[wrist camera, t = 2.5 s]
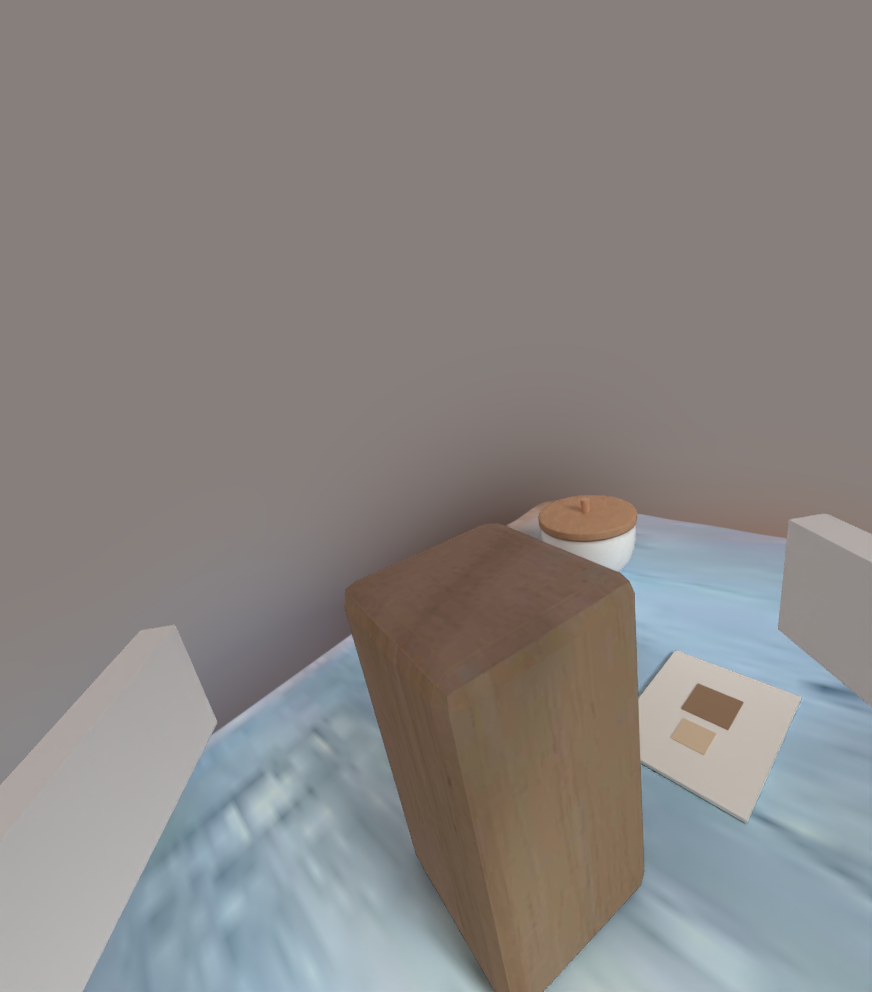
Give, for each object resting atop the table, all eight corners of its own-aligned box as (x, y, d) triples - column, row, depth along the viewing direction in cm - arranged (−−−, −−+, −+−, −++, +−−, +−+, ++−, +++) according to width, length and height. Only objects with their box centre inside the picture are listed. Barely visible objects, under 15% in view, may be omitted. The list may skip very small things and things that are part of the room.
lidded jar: (660, 575, 53) (659, 498, 50) (580, 608, 50) (574, 529, 47) (597, 541, 62) (593, 475, 59) (527, 567, 59) (519, 499, 56)
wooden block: (411, 852, 30) (332, 582, 23) (528, 761, 34) (492, 512, 27) (515, 1035, 21) (440, 699, 15) (652, 884, 26) (644, 571, 19)
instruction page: (675, 652, 41) (675, 649, 41) (801, 700, 35) (801, 696, 35) (606, 743, 34) (605, 739, 34) (746, 824, 28) (747, 819, 28)
